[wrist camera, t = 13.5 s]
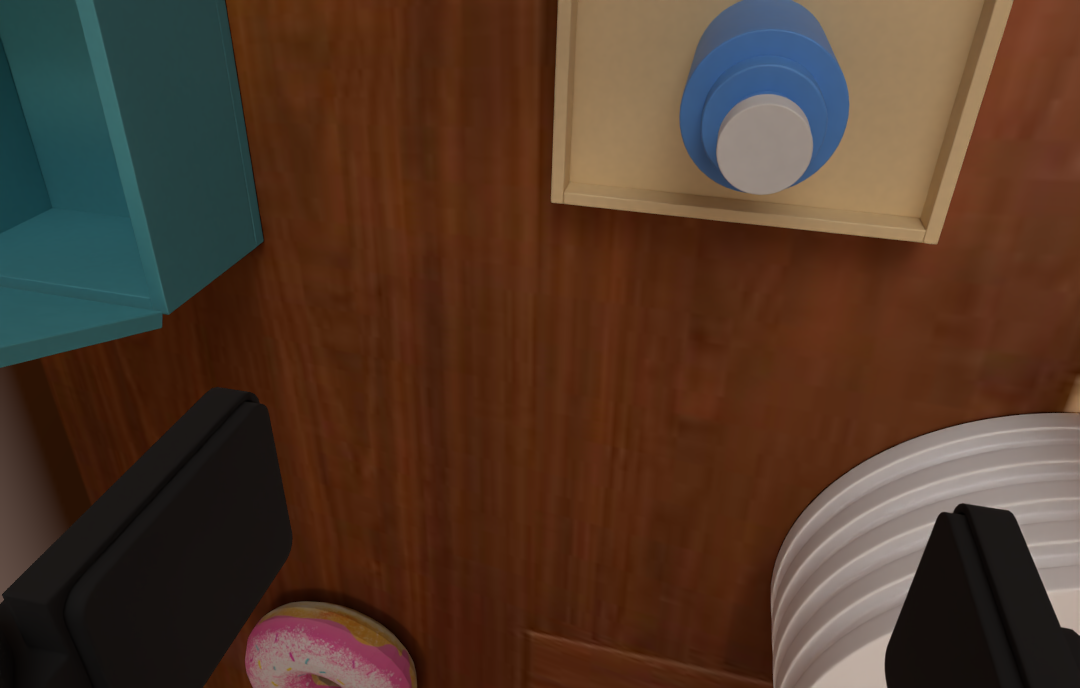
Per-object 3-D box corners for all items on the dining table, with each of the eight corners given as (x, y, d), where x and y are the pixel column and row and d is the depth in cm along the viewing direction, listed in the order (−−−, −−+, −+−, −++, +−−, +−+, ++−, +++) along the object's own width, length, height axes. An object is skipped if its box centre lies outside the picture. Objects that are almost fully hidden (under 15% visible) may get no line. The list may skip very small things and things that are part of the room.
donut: (424, 720, 65) (402, 779, 61) (275, 680, 67) (244, 734, 63) (427, 612, 58) (402, 670, 54) (259, 570, 60) (223, 623, 56)
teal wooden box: (-43, -108, 38) (-231, -102, 31) (210, -94, 36) (72, -84, 29) (54, 213, 47) (-74, 277, 40) (264, 241, 45) (168, 315, 37)
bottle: (673, 30, 34) (641, 100, 24) (806, -30, 32) (832, 18, 22) (718, 150, 36) (706, 260, 26) (845, 102, 34) (886, 201, 24)
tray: (559, 188, 39) (550, 203, 37) (571, -122, 32) (561, -121, 31) (928, 226, 36) (937, 245, 34) (1028, -106, 29) (1046, -105, 28)
